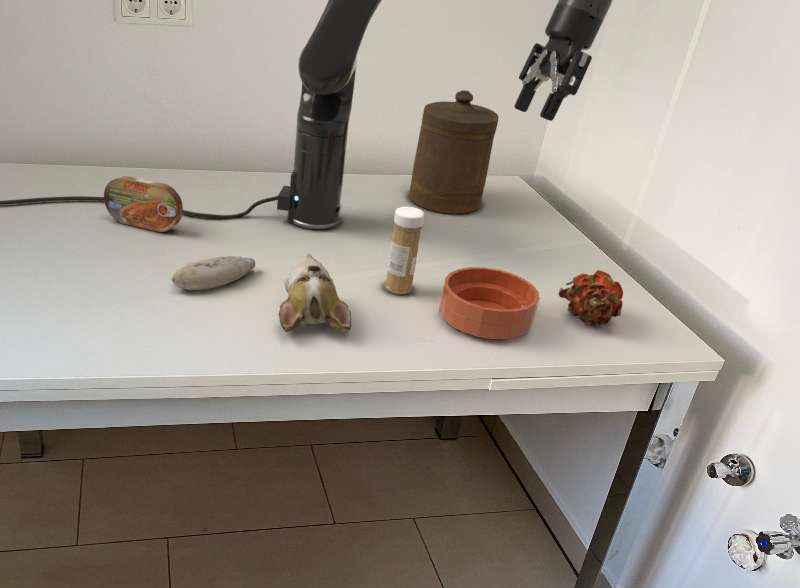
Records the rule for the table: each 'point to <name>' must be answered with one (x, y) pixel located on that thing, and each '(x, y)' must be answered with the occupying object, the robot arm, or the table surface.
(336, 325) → the ceramic sculpture
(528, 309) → the bowl
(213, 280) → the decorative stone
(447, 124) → the wooden container
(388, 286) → the sprinkles bottle
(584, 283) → the dragon fruit
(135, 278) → the table surface
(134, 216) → the tin
